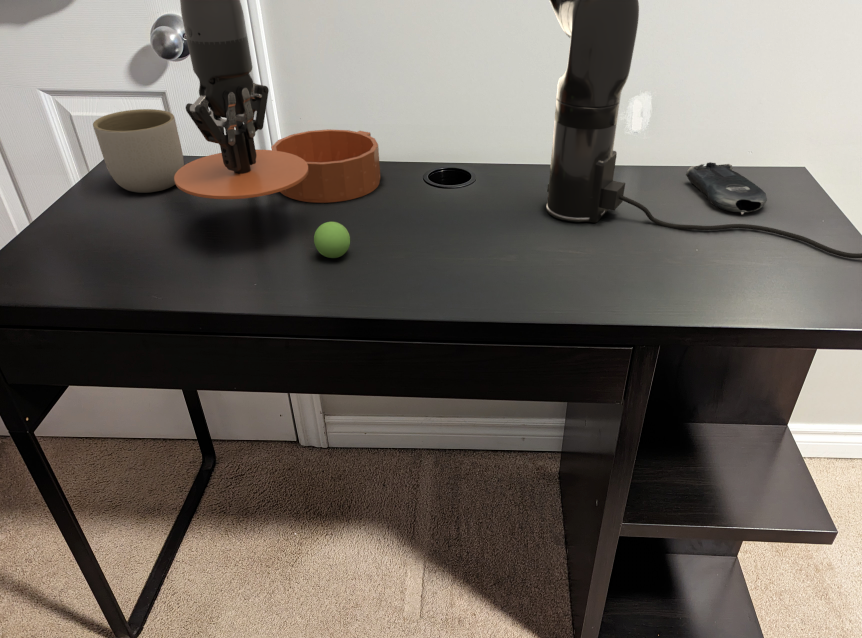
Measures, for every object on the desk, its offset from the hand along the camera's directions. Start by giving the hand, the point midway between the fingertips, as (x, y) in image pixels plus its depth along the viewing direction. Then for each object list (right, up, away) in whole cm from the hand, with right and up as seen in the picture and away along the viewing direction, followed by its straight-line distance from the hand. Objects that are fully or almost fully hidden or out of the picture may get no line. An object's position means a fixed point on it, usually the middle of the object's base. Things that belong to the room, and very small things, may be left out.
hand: (241, 166), depth 98 cm
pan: (+8, +4, +21) cm, 23 cm away
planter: (-22, +3, +20) cm, 30 cm away
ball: (+13, -11, -2) cm, 18 cm away
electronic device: (+76, 0, +17) cm, 78 cm away
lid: (0, -1, +1) cm, 1 cm away
